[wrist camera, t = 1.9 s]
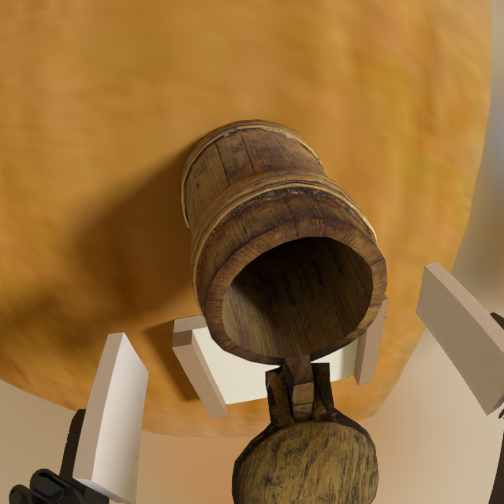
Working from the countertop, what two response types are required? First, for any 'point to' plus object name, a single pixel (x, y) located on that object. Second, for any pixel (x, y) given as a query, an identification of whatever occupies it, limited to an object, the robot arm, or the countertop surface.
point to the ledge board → (253, 374)
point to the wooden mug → (285, 302)
